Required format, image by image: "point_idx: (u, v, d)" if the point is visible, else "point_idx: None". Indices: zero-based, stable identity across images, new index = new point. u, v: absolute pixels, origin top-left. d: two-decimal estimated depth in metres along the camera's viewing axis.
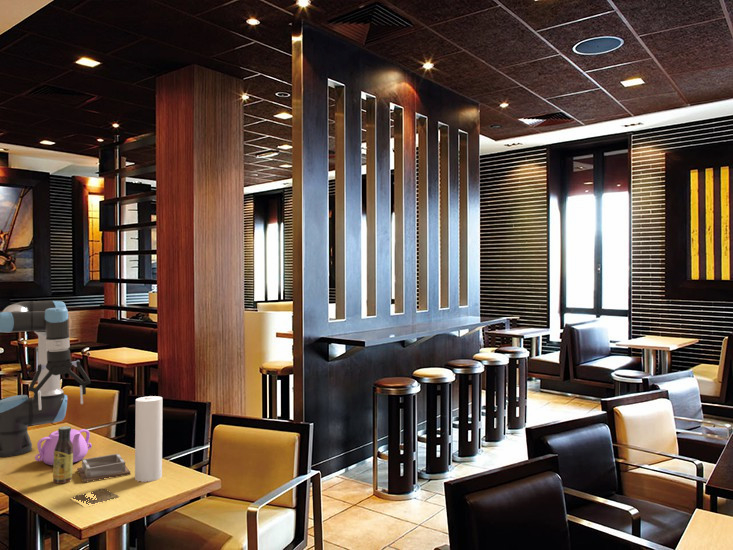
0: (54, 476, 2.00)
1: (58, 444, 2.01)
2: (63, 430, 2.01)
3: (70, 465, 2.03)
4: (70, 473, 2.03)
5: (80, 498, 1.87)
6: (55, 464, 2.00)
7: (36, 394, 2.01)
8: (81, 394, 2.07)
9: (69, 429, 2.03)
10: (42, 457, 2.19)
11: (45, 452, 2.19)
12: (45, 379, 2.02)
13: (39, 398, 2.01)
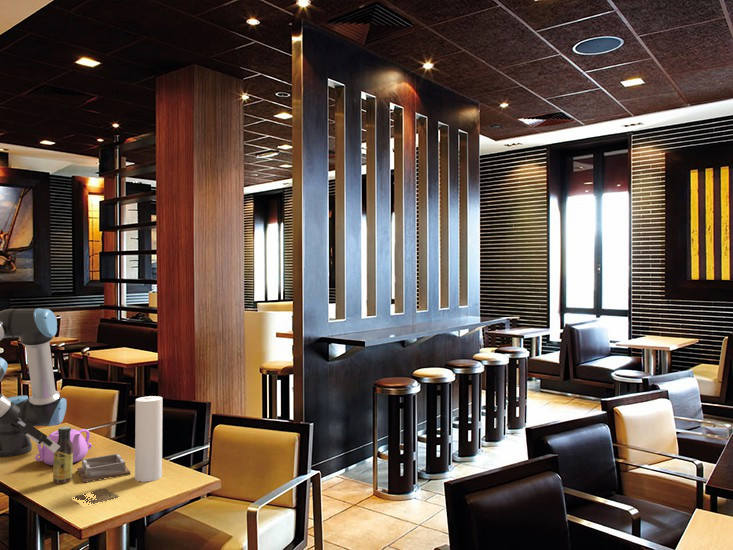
0: (54, 476, 2.00)
1: (58, 444, 2.01)
2: (63, 430, 2.01)
3: (70, 465, 2.03)
4: (70, 473, 2.03)
5: (80, 498, 1.87)
6: (55, 464, 2.00)
7: (28, 434, 2.00)
8: (46, 446, 1.92)
9: (69, 429, 2.03)
10: (42, 457, 2.19)
11: (45, 452, 2.19)
12: None
13: (30, 438, 2.00)
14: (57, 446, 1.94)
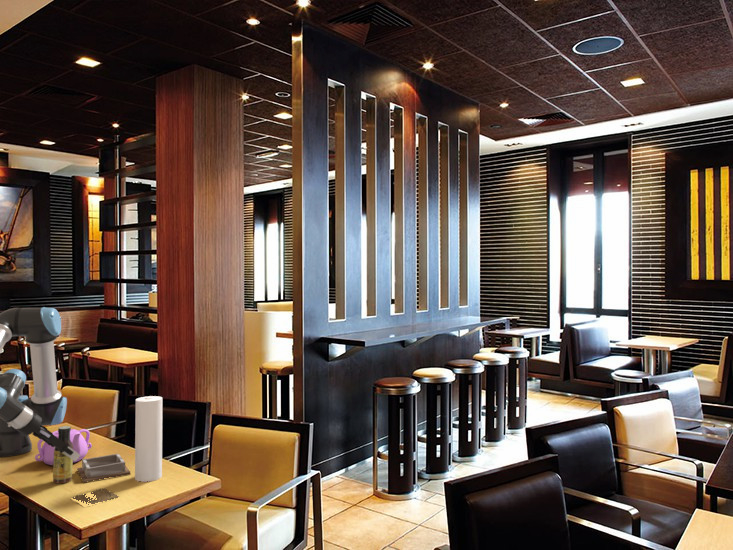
0: (54, 476, 2.00)
1: None
2: (63, 430, 2.01)
3: (70, 465, 2.03)
4: (70, 473, 2.03)
5: (80, 498, 1.87)
6: (55, 464, 2.00)
7: None
8: None
9: (69, 429, 2.03)
10: (42, 457, 2.19)
11: (45, 452, 2.19)
12: None
13: None
14: (77, 455, 2.04)
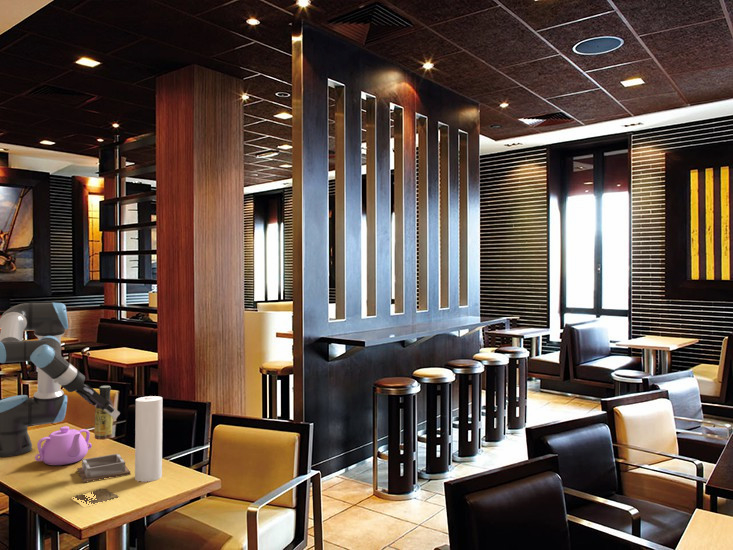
0: (96, 432, 2.10)
1: None
2: (104, 388, 2.11)
3: (110, 422, 2.12)
4: (110, 430, 2.13)
5: (80, 498, 1.87)
6: (97, 421, 2.10)
7: (96, 405, 2.15)
8: (108, 413, 2.11)
9: (109, 388, 2.13)
10: (42, 457, 2.19)
11: (45, 452, 2.19)
12: (85, 398, 2.10)
13: None
14: (117, 413, 2.13)
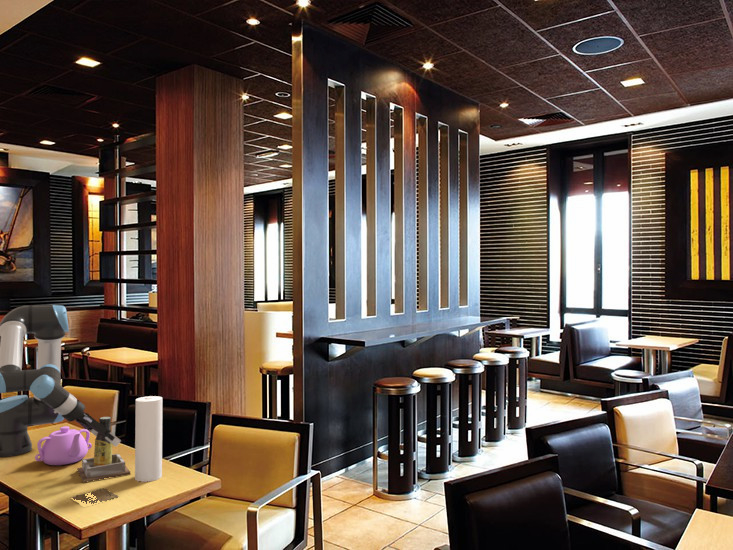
0: (95, 464, 2.10)
1: None
2: (104, 420, 2.12)
3: (110, 454, 2.13)
4: (110, 461, 2.13)
5: (80, 498, 1.87)
6: (96, 452, 2.10)
7: None
8: None
9: (109, 419, 2.13)
10: (42, 457, 2.19)
11: (45, 452, 2.19)
12: (83, 425, 2.11)
13: (94, 434, 2.16)
14: (118, 440, 2.11)
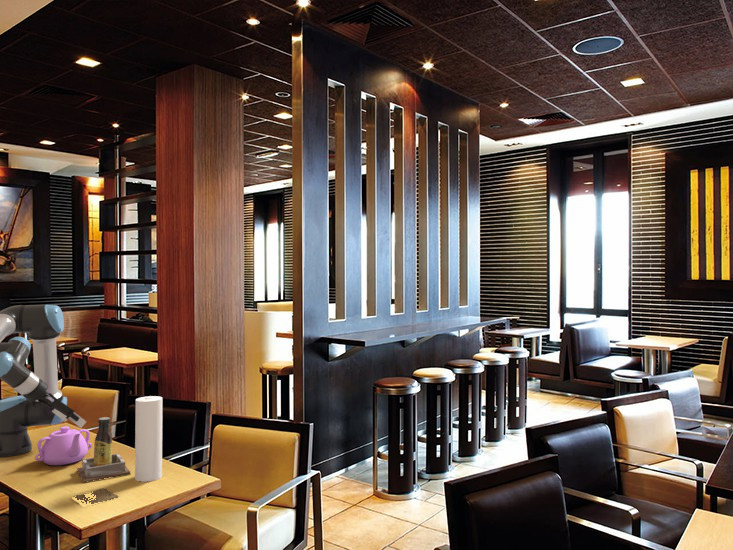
0: (95, 465, 2.10)
1: (98, 434, 2.11)
2: (103, 420, 2.11)
3: (110, 454, 2.12)
4: (110, 462, 2.12)
5: (80, 498, 1.87)
6: (96, 453, 2.10)
7: None
8: None
9: (108, 420, 2.13)
10: (42, 457, 2.19)
11: (45, 452, 2.19)
12: (45, 405, 2.01)
13: (56, 415, 2.06)
14: (83, 421, 2.00)
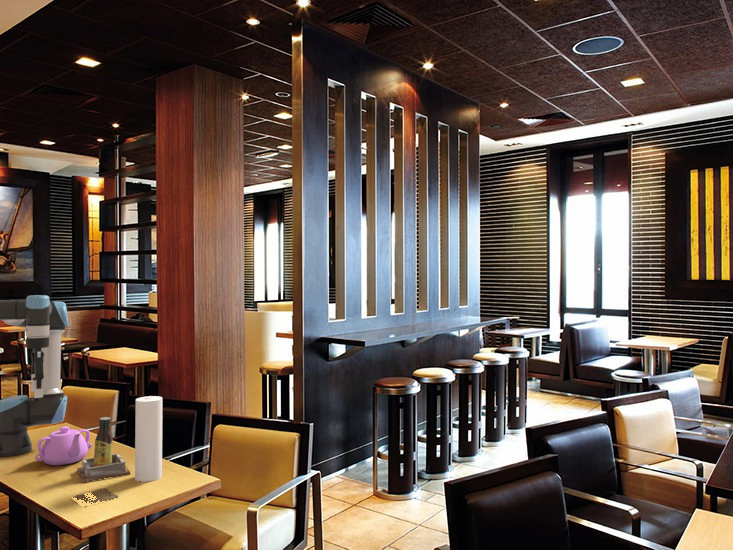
0: (95, 465, 2.10)
1: (99, 434, 2.11)
2: (104, 420, 2.11)
3: (110, 454, 2.12)
4: (110, 462, 2.12)
5: (80, 498, 1.87)
6: (96, 453, 2.10)
7: None
8: (34, 387, 1.98)
9: (109, 420, 2.13)
10: (42, 457, 2.19)
11: (45, 452, 2.19)
12: (32, 363, 2.08)
13: (31, 380, 2.09)
14: (41, 395, 1.99)
